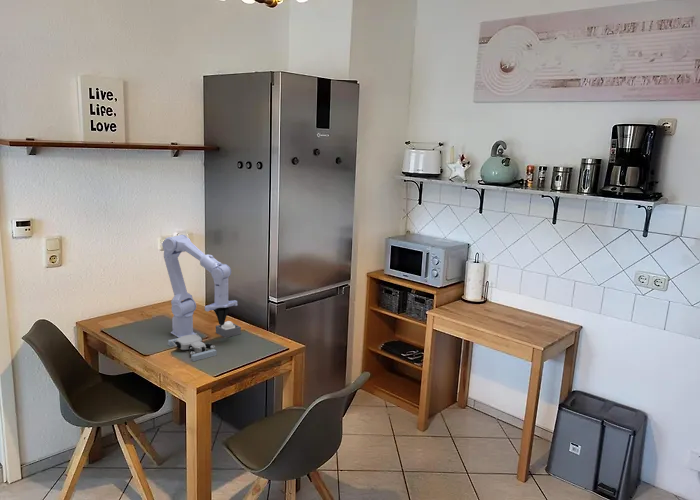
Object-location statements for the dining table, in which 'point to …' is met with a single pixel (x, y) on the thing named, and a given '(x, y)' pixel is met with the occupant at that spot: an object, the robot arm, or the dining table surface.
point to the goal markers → (198, 355)
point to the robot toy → (192, 344)
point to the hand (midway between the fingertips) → (221, 324)
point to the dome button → (228, 325)
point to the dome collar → (228, 331)
